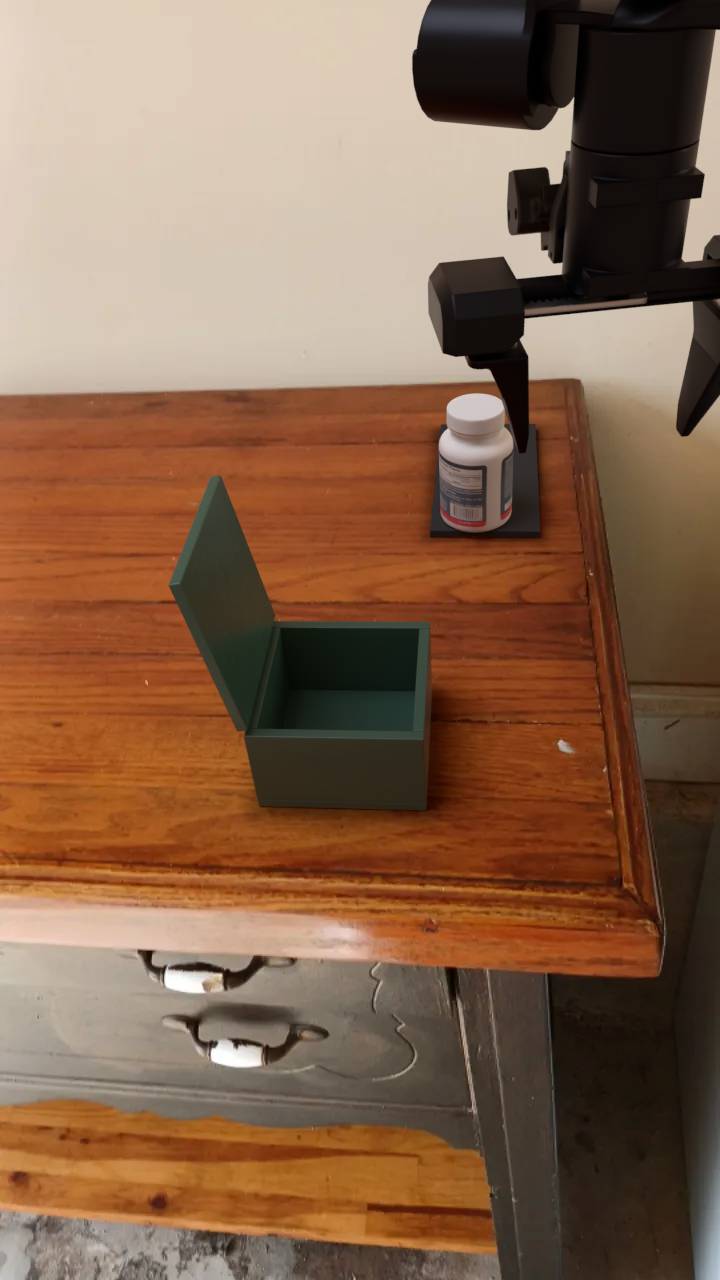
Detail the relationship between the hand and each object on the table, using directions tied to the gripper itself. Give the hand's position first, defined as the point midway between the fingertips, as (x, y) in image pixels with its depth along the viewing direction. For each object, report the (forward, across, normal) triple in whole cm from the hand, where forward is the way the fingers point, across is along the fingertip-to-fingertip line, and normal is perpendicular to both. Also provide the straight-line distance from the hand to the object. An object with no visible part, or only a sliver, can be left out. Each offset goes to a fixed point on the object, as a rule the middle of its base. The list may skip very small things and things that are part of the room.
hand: (601, 441), depth 54 cm
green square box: (+13, +16, +9) cm, 22 cm away
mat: (+13, +3, -18) cm, 22 cm away
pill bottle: (+13, +5, -12) cm, 18 cm away
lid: (+2, +21, +8) cm, 23 cm away
